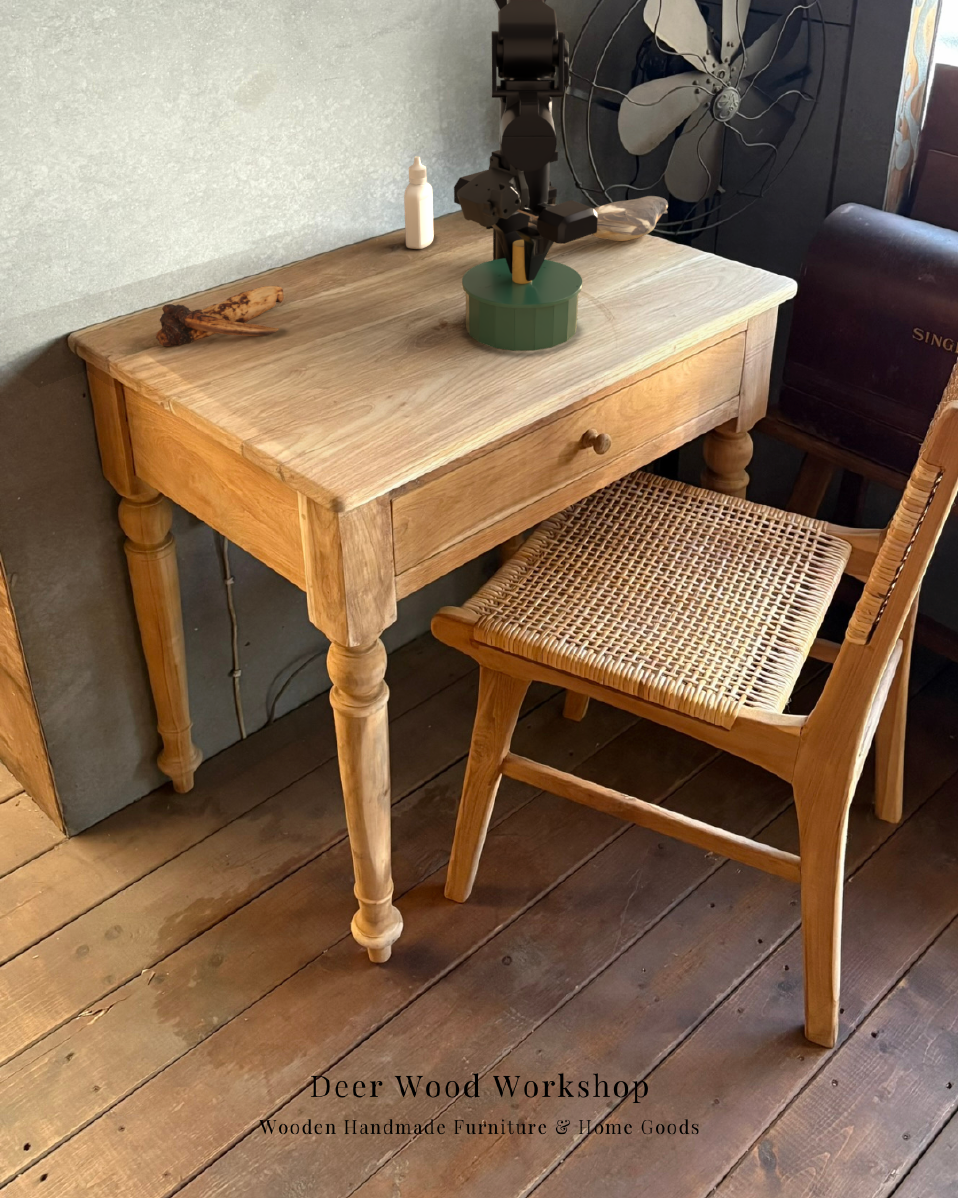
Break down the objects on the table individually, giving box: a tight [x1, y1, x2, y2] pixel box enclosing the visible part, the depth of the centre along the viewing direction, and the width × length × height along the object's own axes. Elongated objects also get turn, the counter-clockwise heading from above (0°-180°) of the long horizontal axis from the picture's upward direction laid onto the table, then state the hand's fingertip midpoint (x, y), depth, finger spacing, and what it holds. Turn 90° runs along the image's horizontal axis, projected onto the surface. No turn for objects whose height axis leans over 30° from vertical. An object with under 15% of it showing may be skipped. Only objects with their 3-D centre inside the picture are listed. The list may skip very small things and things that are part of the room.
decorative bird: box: [591, 195, 669, 242], centre depth 167 cm, size 6×25×5 cm, turn 127°
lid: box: [461, 240, 584, 309], centre depth 141 cm, size 14×14×6 cm
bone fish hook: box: [155, 285, 285, 347], centre depth 144 cm, size 9×5×18 cm
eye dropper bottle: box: [403, 155, 435, 250], centre depth 166 cm, size 4×6×12 cm
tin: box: [465, 292, 579, 352], centre depth 144 cm, size 13×14×6 cm
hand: (522, 276), depth 142 cm, fingers closed on lid, 2 cm apart
